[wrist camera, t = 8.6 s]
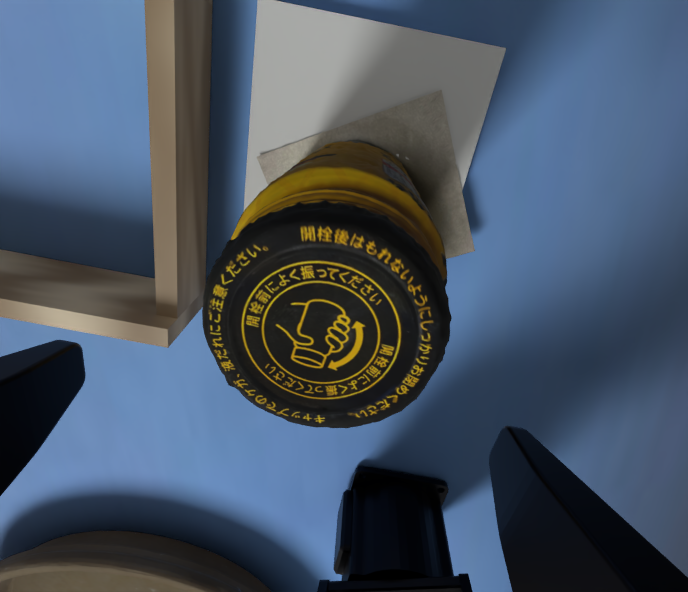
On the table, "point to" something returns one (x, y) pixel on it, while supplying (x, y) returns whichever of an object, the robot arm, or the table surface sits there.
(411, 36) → the grey mat
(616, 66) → the table surface
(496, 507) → the robot arm
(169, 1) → the pine frame
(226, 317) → the condiment
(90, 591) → the plant saucer
